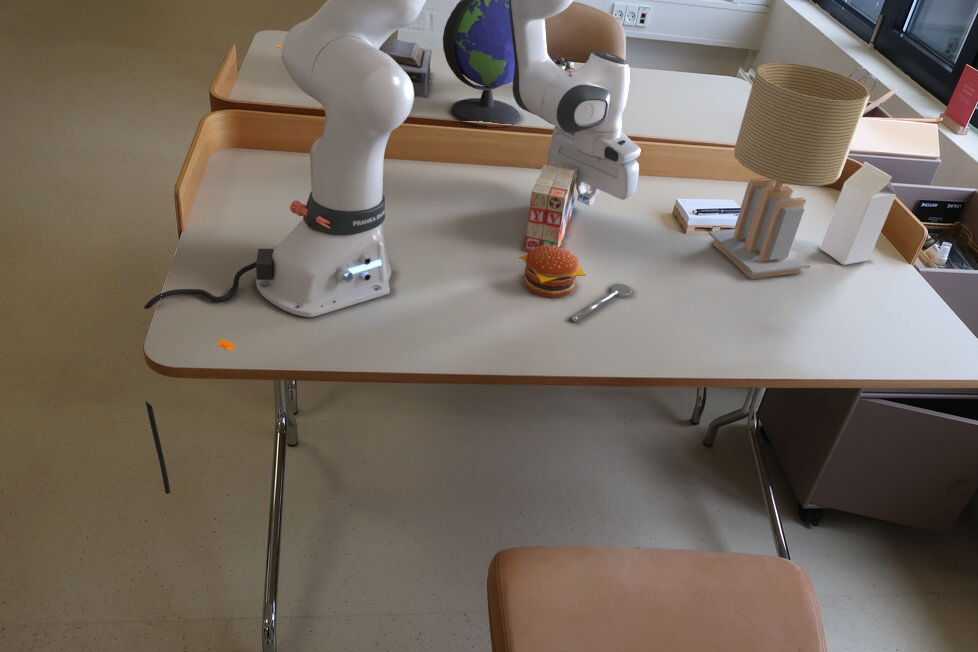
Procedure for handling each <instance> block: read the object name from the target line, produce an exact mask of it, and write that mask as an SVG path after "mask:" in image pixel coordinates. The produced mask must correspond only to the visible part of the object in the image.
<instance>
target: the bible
mask: <svg viewBox="0 0 978 652" xmlns="http://www.w3.org/2000/svg"><path fill="white" fill-rule="evenodd" d="M379 50H380V51H382V52H384V53H386V54H388V55H389V56H390V57H391V58H393V60H394V61H395V62H396V63H397V64H398V65H399V66H400V67H401V68H402V69H403V70H404V71H405V73H406V74H407V75H408V76H409V78H410V80H411V82H412V84H413V88H414V97H416V96H417V97H423V98H426V96H427V92H428V88H429V84H430V80H431V60H432V53H433V51H432V49H427V48H422V47H421V46H420V45H419V44H418V42H413V41H405V40H400V39H396V38H395V39H389V40H388V39H387V40H386V41H385V42H384V43H383V44H382V46H381V47H380V48H379Z"/></svg>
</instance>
